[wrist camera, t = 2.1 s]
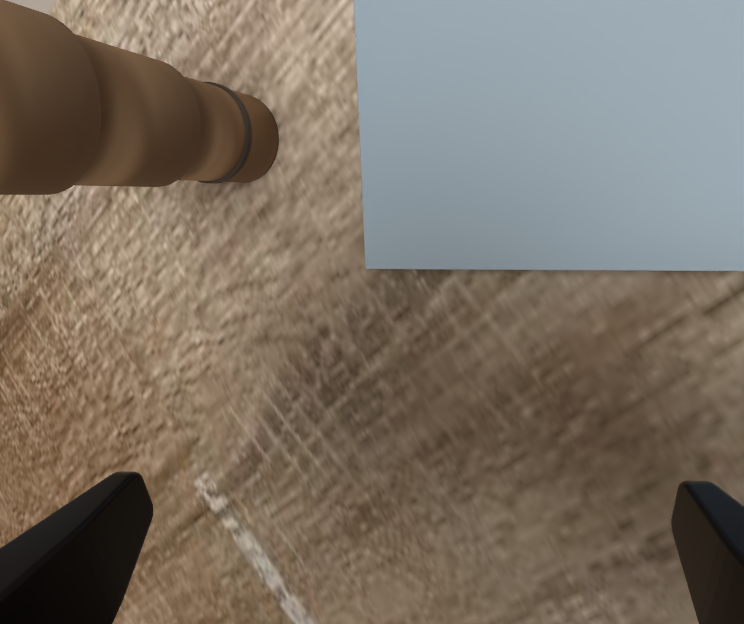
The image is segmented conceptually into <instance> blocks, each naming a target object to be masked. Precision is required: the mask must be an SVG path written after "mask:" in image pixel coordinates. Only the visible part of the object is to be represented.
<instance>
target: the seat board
mask: <svg viewBox="0 0 744 624" xmlns="http://www.w3.org/2000/svg"><path fill="white" fill-rule="evenodd" d="M354 16H355V39H356V62H357V85H358V108H359V132H360V155H361V178H362V201H363V224H364V247H365V269H475V270H648V271H744V0H354Z"/></svg>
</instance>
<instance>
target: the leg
mask: <svg viewBox="0 0 744 624" xmlns="http://www.w3.org/2000/svg"><path fill="white" fill-rule="evenodd" d="M277 149H278V129H277V125H276V122H275V119H274V117H273V115H272V113H271V112H270V110H269V109H268V108H267V107H266V105H265V104H263V103H262V102H261V101H260V100H258V99H257V98H254V97H252V96H249V95H245V94H242V93H238V92H235V91H232V90H230V89H229V88H227V87H225V86H223V85H219V84H216V83H212V82H201V81H197V80H194V79H190V78H187V77H183V76H182V74H181V73H180V72H178V71H177V70H176V69H175V68H174V67H172V66H171V65H169V64H167V63H165V62H162V61H159V60H156V59H152V58H149V57H146V56H143V55H140V54H136V53H133V52H130V51H127V50H124V49H120V48H117V47H114V46H111V45H108V44H104V43H101V42H98V41H95V40H92V39H88V38H85V37H82V36H79V35H75V34H73V33H72V31H71V30H70V29H69V28H67V27H66V26H65V25H64V24H63V23H62V22H60V21H59V20H57V19H56V18H54V17H52V16H50V15H47V14H45V13H42V12H39V11H36V10H32V9H30V8H27V7H24V6H21V5H17V4H15V3H12V2H8V1H6V0H0V195H50V194H56V193H59V192H62V191H65V190H66V189H68V188H70V187H72V186H73V185H86V186H139V187H161V186H166V185H169V184H171V183H173V182H175V181H177V180H194V181H199V182H203V183H222V182H251V181H254V180H256V179H258V178H260V177H261V176H263V175H264V174H265V173H266V172H267V171H268V170H269V168H270V167H271V165H272V164H273V162H274V160H275V157H276V154H277Z"/></svg>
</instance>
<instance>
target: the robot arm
mask: <svg viewBox="0 0 744 624" xmlns="http://www.w3.org/2000/svg"><path fill="white" fill-rule="evenodd" d="M152 517H153V504H152V501H151V498H150V496H149V493H148V490H147V488H146V485H145V482H144V480H143V477H142V476H141V475H140V474H139V473H137V472H116V473H113V474H112V475H110V476H109V477H107V478H106V479H104V480H103V481H101V482H100V483H98V484H97V485H95V486H94V487H92V488H90V489H89V490H87V491H86V492H84V493H83V494H81V495H80V496H78V497H77V498H75V499H74V500H72V501H71V502H69V503H68V504H66V505H65V506H63V507H62V508H60V509H59V510H57V511H56V512H54V513H53V514H51V515H50V516H48V517H47V518H45V519H44V520H42V521H41V522H39V523H38V524H36V525H35V526H33V527H32V528H30V529H29V530H27V531H26V532H24V533H23V534H21V535H20V536H18V537H17V538H15V539H14V540H12V541H11V542H9V543H8V544H6V545H5V546H3V547H2V548H0V624H112V623H113V621H114V619H115V617H116V614H117V612H118V610H119V608H120V605H121V603H122V601H123V598H124V595H125V593H126V590H127V588H128V585H129V582H130V579H131V577H132V574H133V571H134V568H135V565H136V563H137V560H138V557H139V554H140V551H141V548H142V546H143V543H144V540H145V537H146V534H147V532H148V529H149V526H150V523H151V520H152ZM671 525H672V532H673V536H674V540H675V543H676V547H677V550H678V554H679V557H680V560H681V564H682V567H683V571H684V574H685V578H686V581H687V584H688V588H689V591H690V595H691V598H692V602H693V605H694V608H695V612H696V615H697V619H698V622H699V624H744V506H742V505H741V504H740V503H739V502H737V501H736V500H735V499H733V498H732V497H731V496H729V495H728V494H727V493H725V492H724V491H723V490H722V489H720V488H719V487H718V486H716V485H715V484H713V483H711V482H708V481H684V482H682V483H681V484H680V485H679V487H678V491H677V496H676V500H675V505H674V510H673V514H672V521H671Z"/></svg>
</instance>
